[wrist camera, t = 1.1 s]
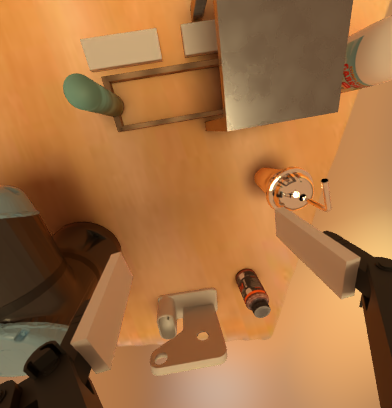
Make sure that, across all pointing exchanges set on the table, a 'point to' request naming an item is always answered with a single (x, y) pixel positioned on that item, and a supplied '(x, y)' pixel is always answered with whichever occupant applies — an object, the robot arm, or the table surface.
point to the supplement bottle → (253, 293)
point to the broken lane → (146, 46)
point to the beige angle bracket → (188, 332)
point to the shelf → (278, 58)
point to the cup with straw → (290, 188)
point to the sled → (112, 104)
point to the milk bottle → (368, 56)
